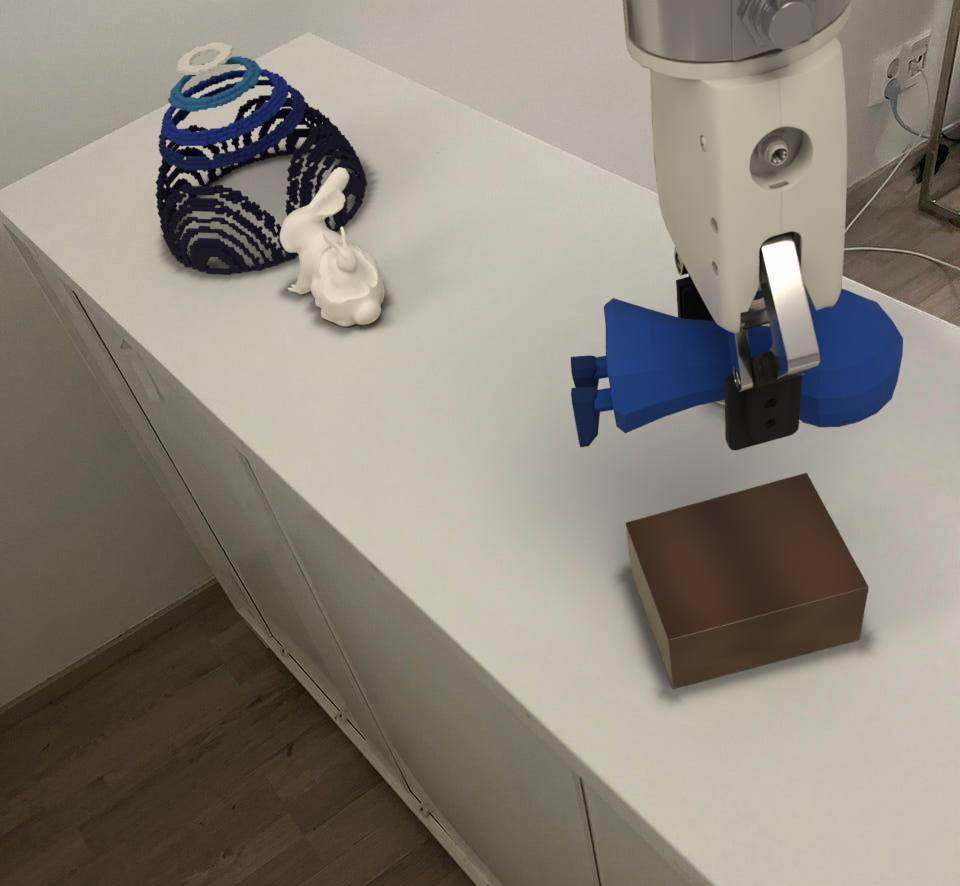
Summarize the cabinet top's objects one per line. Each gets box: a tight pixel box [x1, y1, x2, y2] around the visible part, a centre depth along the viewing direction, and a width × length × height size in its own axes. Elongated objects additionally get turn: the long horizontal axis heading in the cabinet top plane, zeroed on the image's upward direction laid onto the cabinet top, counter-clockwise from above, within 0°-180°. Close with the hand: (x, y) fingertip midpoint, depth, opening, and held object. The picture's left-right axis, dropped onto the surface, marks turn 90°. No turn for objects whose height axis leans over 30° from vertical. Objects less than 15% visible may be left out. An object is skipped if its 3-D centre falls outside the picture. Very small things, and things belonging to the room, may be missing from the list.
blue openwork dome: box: [155, 41, 368, 276], centre depth 92 cm, size 20×20×14 cm
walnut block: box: [625, 472, 869, 689], centre depth 58 cm, size 11×9×5 cm
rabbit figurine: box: [280, 167, 386, 327], centre depth 83 cm, size 12×8×10 cm, turn 35°
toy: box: [570, 288, 904, 448], centre depth 46 cm, size 7×6×15 cm
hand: (736, 385), depth 48 cm, fingers closed on toy, 6 cm apart
